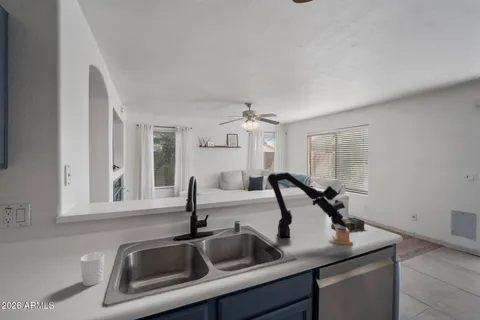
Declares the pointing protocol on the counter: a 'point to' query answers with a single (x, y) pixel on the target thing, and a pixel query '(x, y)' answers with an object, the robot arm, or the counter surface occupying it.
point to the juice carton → (351, 224)
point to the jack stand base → (342, 237)
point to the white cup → (92, 268)
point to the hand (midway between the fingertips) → (345, 225)
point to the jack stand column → (342, 226)
